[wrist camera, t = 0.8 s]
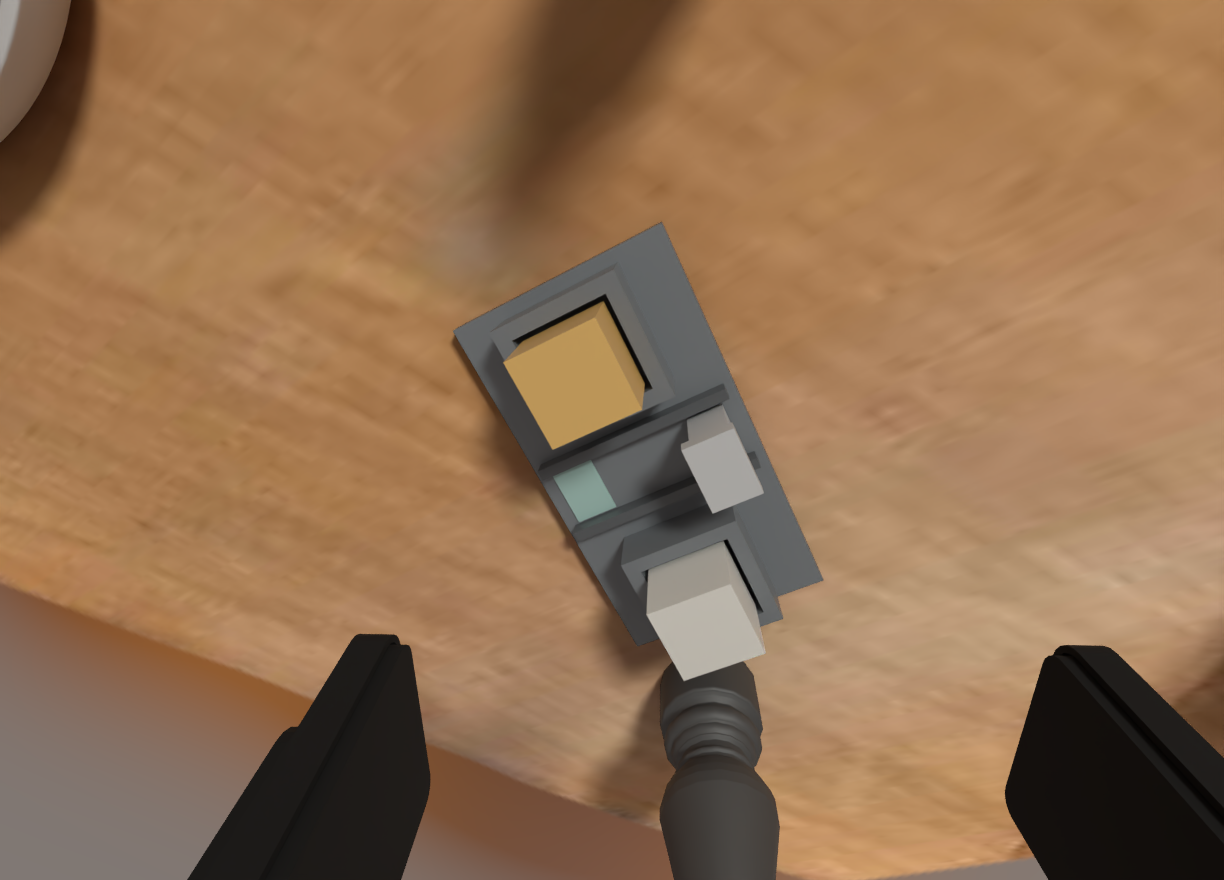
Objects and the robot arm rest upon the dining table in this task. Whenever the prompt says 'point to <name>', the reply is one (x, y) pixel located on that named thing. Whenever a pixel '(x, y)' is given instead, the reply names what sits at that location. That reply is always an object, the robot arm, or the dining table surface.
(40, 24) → the bowl
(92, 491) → the dining table surface
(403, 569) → the dining table surface
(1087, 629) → the dining table surface
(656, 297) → the switch panel
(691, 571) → the white button
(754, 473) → the slider knob
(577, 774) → the dining table surface
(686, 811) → the candle holder
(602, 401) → the tan yellow cube
